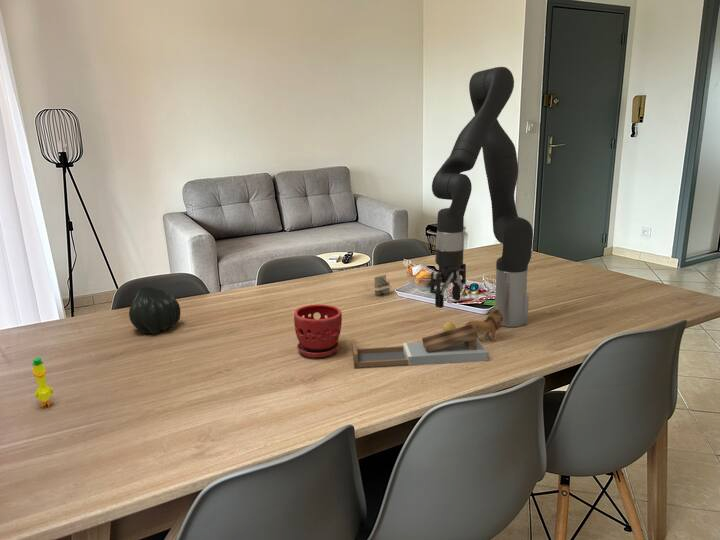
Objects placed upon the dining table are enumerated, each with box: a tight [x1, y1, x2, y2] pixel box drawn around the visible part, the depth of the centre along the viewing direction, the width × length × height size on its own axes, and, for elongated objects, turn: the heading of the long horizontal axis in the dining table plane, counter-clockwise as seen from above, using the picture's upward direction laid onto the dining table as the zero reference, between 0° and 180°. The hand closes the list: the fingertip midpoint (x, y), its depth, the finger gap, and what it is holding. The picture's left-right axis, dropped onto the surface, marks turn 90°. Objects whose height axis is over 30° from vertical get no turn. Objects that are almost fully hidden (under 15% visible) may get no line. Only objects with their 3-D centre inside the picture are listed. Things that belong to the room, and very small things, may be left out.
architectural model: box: [372, 274, 393, 296], centre depth 199 cm, size 3×7×7 cm, turn 128°
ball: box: [442, 321, 457, 332], centre depth 154 cm, size 4×4×4 cm
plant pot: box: [293, 304, 343, 358], centre depth 151 cm, size 13×13×12 cm
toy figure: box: [31, 357, 54, 407], centre depth 126 cm, size 7×4×12 cm, turn 38°
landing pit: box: [351, 340, 409, 370], centre depth 145 cm, size 14×9×4 cm, turn 94°
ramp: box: [421, 324, 480, 353], centre depth 145 cm, size 14×6×5 cm, turn 94°
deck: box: [402, 338, 488, 366], centre depth 146 cm, size 21×9×2 cm, turn 94°
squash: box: [128, 286, 181, 334], centre depth 172 cm, size 14×15×15 cm
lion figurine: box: [465, 307, 504, 343], centre depth 154 cm, size 15×5×9 cm, turn 116°
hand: (447, 303), depth 153 cm, fingers open, 8 cm apart
